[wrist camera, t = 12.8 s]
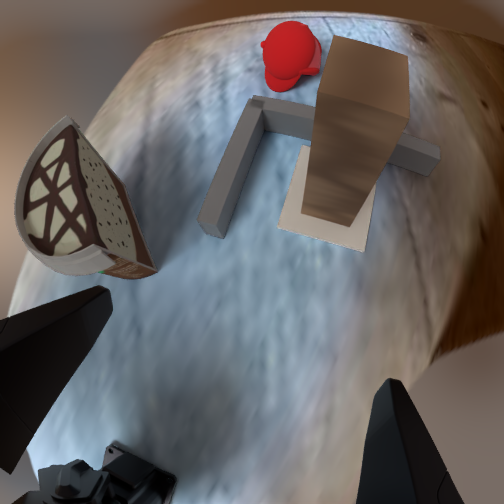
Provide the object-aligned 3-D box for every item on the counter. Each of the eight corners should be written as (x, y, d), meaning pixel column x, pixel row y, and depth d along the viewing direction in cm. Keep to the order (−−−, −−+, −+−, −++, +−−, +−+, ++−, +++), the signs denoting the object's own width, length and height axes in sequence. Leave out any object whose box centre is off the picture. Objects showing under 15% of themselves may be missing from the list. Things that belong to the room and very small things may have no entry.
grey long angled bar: (414, 293, 21) (431, 286, 18) (206, 234, 24) (196, 220, 21) (427, 163, 24) (439, 146, 21) (253, 116, 27) (250, 94, 24)
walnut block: (360, 174, 24) (407, 55, 12) (349, 227, 23) (409, 118, 10) (314, 161, 25) (333, 34, 12) (300, 213, 23) (317, 91, 11)
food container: (72, 206, 26) (8, 157, 17) (121, 174, 27) (66, 110, 17) (105, 321, 23) (21, 304, 13) (165, 288, 23) (96, 253, 14)
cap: (275, 25, 27) (244, 22, 23) (324, 21, 24) (300, 15, 20) (280, 87, 32) (252, 93, 28) (328, 89, 29) (306, 94, 25)
